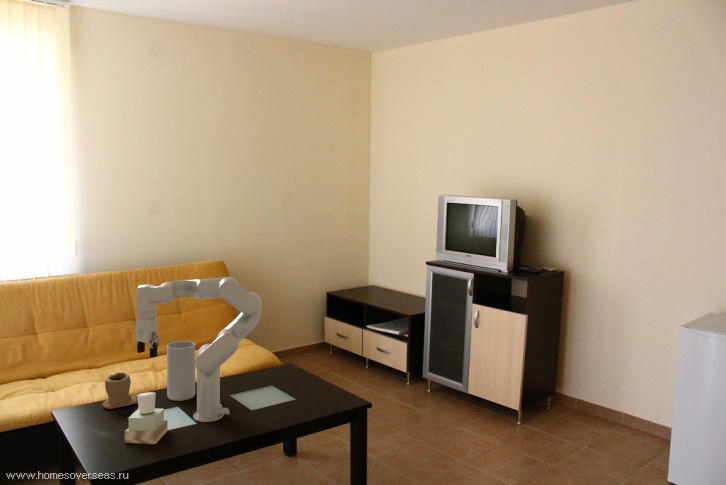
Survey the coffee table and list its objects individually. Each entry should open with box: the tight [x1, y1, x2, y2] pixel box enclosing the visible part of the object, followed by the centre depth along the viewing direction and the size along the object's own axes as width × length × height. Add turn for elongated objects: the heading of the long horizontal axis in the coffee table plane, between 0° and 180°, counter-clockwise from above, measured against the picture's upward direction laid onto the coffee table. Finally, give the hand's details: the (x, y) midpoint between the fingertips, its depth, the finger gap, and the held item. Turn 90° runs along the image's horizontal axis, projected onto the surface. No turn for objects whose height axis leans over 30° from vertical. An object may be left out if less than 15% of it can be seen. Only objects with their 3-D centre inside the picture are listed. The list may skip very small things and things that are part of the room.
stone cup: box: [102, 371, 139, 410], centre depth 255 cm, size 15×12×15 cm
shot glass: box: [137, 391, 157, 414], centre depth 225 cm, size 7×7×7 cm
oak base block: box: [124, 419, 169, 445], centre depth 225 cm, size 12×12×5 cm
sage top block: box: [128, 407, 165, 431], centre depth 224 cm, size 10×10×5 cm
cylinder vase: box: [166, 340, 196, 402], centre depth 267 cm, size 12×12×25 cm
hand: (147, 354), depth 238 cm, fingers open, 9 cm apart
